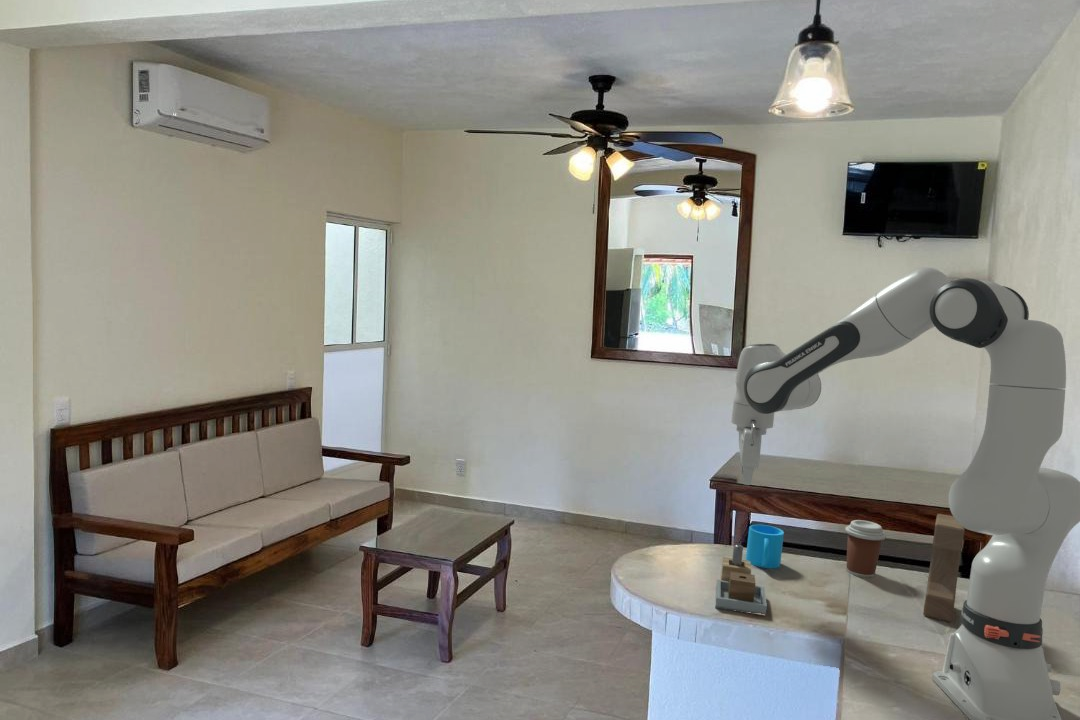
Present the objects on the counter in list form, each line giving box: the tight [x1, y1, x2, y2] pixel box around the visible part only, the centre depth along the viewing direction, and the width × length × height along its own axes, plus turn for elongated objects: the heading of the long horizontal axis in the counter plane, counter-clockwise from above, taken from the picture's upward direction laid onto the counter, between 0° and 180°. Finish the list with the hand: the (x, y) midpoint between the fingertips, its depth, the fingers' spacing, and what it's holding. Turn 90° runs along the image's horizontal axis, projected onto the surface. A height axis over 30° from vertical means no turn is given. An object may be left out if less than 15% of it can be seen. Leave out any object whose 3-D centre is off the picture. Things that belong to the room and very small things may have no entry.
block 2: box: [728, 572, 756, 602], centre depth 173 cm, size 5×5×5 cm
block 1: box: [720, 556, 752, 581], centre depth 183 cm, size 6×6×5 cm
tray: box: [714, 579, 768, 615], centre depth 173 cm, size 11×10×2 cm
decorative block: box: [922, 513, 966, 623], centre depth 176 cm, size 11×6×20 cm, turn 151°
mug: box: [745, 524, 785, 569], centre depth 198 cm, size 12×8×8 cm
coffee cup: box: [844, 519, 887, 578], centre depth 198 cm, size 9×9×12 cm
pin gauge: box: [732, 544, 744, 566], centre depth 182 cm, size 2×2×9 cm
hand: (745, 479), depth 180 cm, fingers open, 8 cm apart
